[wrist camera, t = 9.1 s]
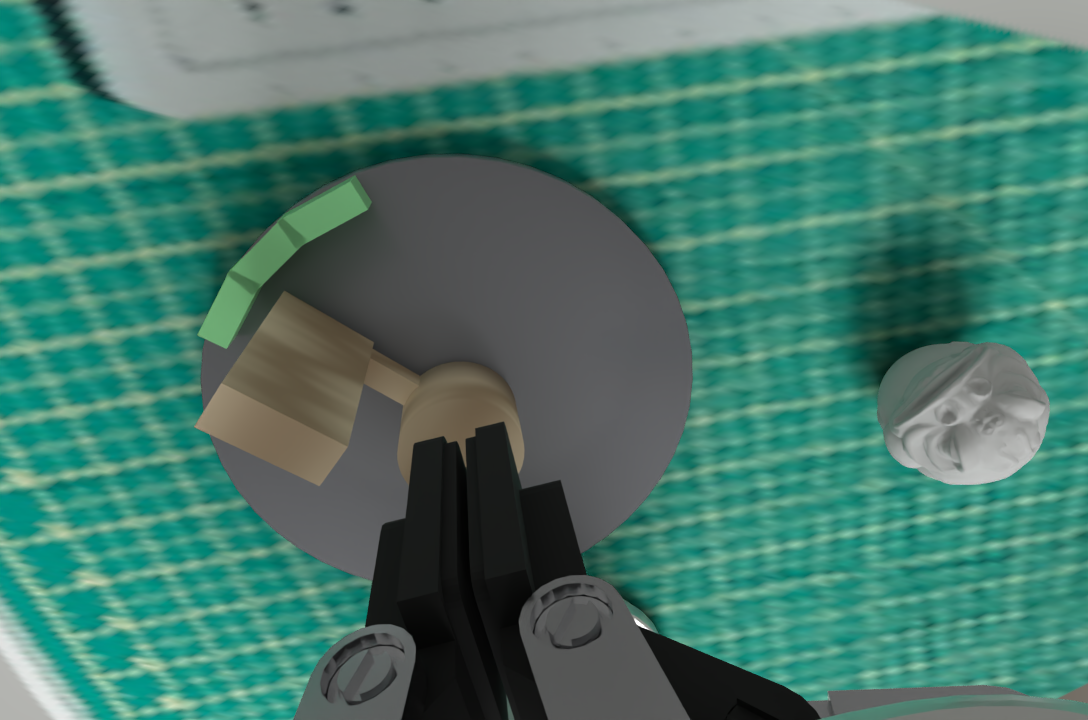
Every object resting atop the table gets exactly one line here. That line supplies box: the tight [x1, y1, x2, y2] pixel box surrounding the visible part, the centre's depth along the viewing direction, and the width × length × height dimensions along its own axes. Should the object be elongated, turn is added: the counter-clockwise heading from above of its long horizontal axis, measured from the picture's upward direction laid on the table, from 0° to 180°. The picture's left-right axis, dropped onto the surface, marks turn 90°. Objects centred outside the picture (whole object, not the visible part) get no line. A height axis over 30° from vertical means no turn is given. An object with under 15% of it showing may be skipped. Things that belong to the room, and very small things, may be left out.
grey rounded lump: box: [877, 341, 1050, 485], centre depth 26 cm, size 6×7×7 cm
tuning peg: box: [194, 291, 525, 486], centre depth 21 cm, size 10×4×7 cm, turn 53°
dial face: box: [198, 154, 693, 581], centre depth 26 cm, size 19×19×2 cm
